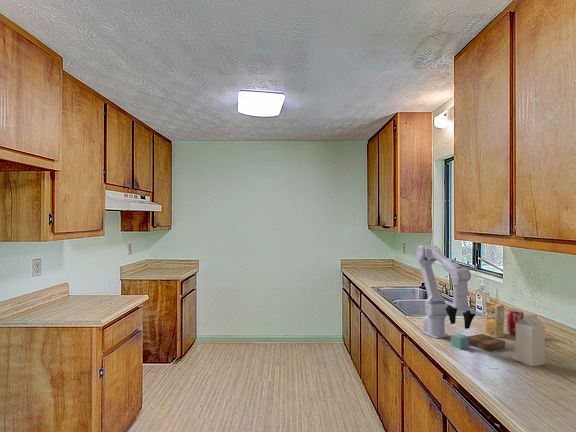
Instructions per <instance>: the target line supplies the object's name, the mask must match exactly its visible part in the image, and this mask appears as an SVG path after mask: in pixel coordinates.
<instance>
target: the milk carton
mask: <svg viewBox="0 0 576 432" xmlns="http://www.w3.org/2000/svg"><path fill="white" fill-rule="evenodd" d="M545 344H546V326H545V325H544V323H543V322H542V321H541V320H540V319H539V318H538V315H537V313H534V314H525V315H524V318H523V319H522V320H520V321H519V322H517V323H516V336H515V347H514V348H515V349H514V350H515V352H514V353H515V360H514V361H517V362H520V363H522V364H524V365H527V366H530V367H537V366H543V365H545V361H546V360H545V359H546V357H545V356H546V355H545V353H546V352H545V351H546V345H545Z"/></svg>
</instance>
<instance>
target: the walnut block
mask: <svg viewBox="0 0 576 432" xmlns="http://www.w3.org/2000/svg"><path fill="white" fill-rule="evenodd" d="M468 337H469V338H468V346H472V347H475V348H477V349H479V350H483V351H485V352H492V351H497V350H498V351H499V350H501V349H505V348H506V341H505V340H503V339H500V338H498V337H495V336H490V335H487V334H484V333H481V334H480V333H479V334H474V335H469V336H468Z"/></svg>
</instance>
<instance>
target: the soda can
mask: <svg viewBox="0 0 576 432" xmlns="http://www.w3.org/2000/svg"><path fill="white" fill-rule="evenodd" d="M506 315H507V316H506V320H507V321H506V327H507V328H506V329H507V333H508V334H509V335H511V336H514V335H515V337H516V323H517V322H519V321H520V320H522V319H523V318H524V312H523V310H522V309H517V308H509V309H508V311H507V314H506Z"/></svg>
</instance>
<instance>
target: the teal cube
mask: <svg viewBox="0 0 576 432" xmlns="http://www.w3.org/2000/svg"><path fill="white" fill-rule="evenodd" d="M468 338H469V337H468V336H467V335H464V334H462V333H454V334H451V335H450V346H451V347H452V348H456V349H458V350H465V349H469V344H468Z"/></svg>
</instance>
